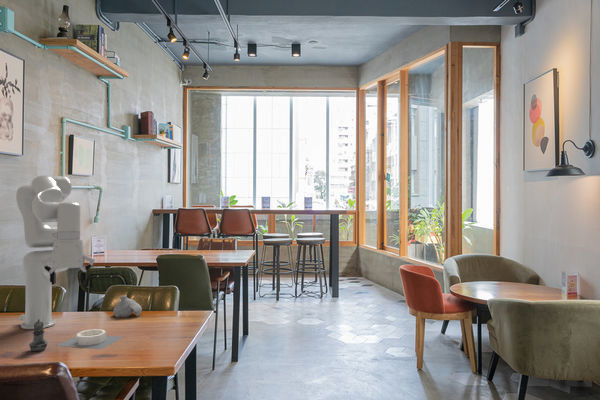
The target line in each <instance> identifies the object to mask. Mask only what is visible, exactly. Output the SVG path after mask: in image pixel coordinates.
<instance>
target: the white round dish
mask: <svg viewBox="0 0 600 400" xmlns="http://www.w3.org/2000/svg"><path fill="white" fill-rule="evenodd" d="M106 333H107V332H106V331H105V329H100V328H99V329H97V328H93V329H92V328H91V329H86V330H82V331H79V332H78V333H76V336H77V343H78V345H94V344H100V343H101V342H103V341H105V340H106V336H107V334H106Z"/></svg>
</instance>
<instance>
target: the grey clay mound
mask: <svg viewBox="0 0 600 400" xmlns="http://www.w3.org/2000/svg"><path fill="white" fill-rule="evenodd" d="M142 310H143V309H142V306H141V305H140V304H139V303H138V302H136V301H135V300H134V299H133V298H128V297H127V295H126V294H125V295H122V296H120V297H119V302H117V304H116V306H115V307H114V309H113V312H112V313H113V316H114V317H115V318H126V317H129V316H132V314H133V313H134V314H135V317H136V318H138V317H139V316H140V315H141V313H142Z"/></svg>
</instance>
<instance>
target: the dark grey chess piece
mask: <svg viewBox="0 0 600 400" xmlns="http://www.w3.org/2000/svg"><path fill="white" fill-rule="evenodd" d="M44 333H45V330H44V328H43V322H41V321H40V320H39V319H38V321H37V322H36V323H35V324H34V329H33V332H32V334H33V339H32V341H31V342H29V343H28V346H29V349H30V350H31V352H41V351H43V350H46V348H47V346H48V344H49V341H48V340H45V337H44V335H45V334H44Z"/></svg>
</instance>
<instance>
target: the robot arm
mask: <svg viewBox="0 0 600 400" xmlns="http://www.w3.org/2000/svg"><path fill="white" fill-rule="evenodd" d="M72 187H73V186H72V182H71V180H70V179H69V178H68V177H67V176H64V175H63V176H62V175H39V176H35V177H34V178H33V179H32V181H31V184H27V185H21V186H20V187H18V188H17V190H16V195H15V196H16V197H15V199H16V204H17V207H18V210H19V212H20V215H21V216H22V219H23V221H22V222H23V229H24V241H25V244H26V247H27V248H29V249H43V250H34V251H30V252H27V253H26V254H25V255H24V256H23V259H22V263H23V271H24V276H25V277H24V279H25V308H24V309H25V310H24V312H25V314H24V313H23V314H20V316H19V317H18V321H22V323H21V324H20V328H21V329H23V330H34V324H35V323H36V322H37V321H38V319H39V320H40V321H41V322H43V329H47V328H49V327H52V326H54V325H56V319H53V318H52V299H53V297H52V293H53V291H52V289H53V288H52V286H53V285H55V284H56V283H57V272H64V271H67V270H68V269H77V268H79V269H80V270H81V273H80V276H81V277H80V283H81V284H84V283H86V282H85V281H87V279H88V278H87V272H88V271H89V269H91V268H92V266H93V264H94V263H95V261H96V260H95V259H94V258H92V257H91V256H88V255H85V249H84V242H83V240H82V239H81V205H80V203H78V202H72V201H65V200H66V199H67V198H68V197H69V196H70V195H71V193H72V192H71V191H72ZM48 223H56V225H49V224H48ZM49 248H50V249H49ZM51 248H52V249H51ZM44 249H46V250H44ZM85 260H86V261H88V262H89V263H88V264H87V265H85ZM47 273H48V274H49V277H48V276H46V274H47Z"/></svg>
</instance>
